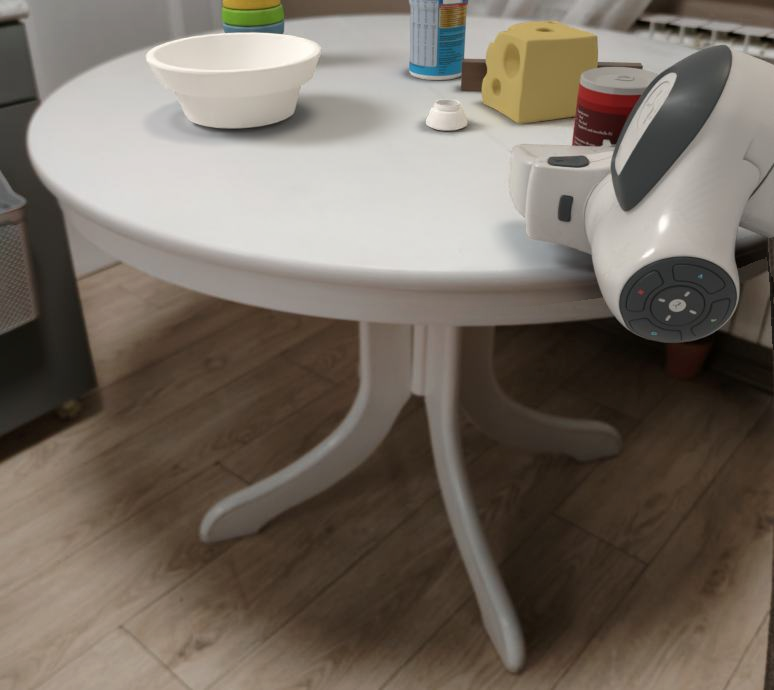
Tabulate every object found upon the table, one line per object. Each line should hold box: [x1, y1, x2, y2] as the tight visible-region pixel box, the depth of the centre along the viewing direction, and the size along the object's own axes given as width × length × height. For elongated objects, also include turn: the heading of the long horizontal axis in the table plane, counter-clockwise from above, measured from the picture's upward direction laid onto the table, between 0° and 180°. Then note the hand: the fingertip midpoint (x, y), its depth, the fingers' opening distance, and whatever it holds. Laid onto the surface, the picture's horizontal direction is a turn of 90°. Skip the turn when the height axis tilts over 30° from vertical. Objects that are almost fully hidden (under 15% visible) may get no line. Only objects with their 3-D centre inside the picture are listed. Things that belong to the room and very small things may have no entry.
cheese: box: [481, 20, 599, 125], centre depth 101 cm, size 10×11×10 cm
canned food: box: [571, 67, 659, 147], centre depth 78 cm, size 8×8×11 cm
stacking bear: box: [221, 0, 285, 34], centre depth 121 cm, size 11×10×18 cm
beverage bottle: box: [408, 0, 470, 81], centre depth 114 cm, size 8×8×20 cm
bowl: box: [145, 32, 323, 129], centre depth 100 cm, size 21×21×8 cm
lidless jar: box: [425, 98, 468, 132], centre depth 97 cm, size 5×3×5 cm
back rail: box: [460, 58, 644, 93], centre depth 110 cm, size 24×2×4 cm, turn 83°
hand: (617, 148), depth 75 cm, fingers closed, pressing on canned food
